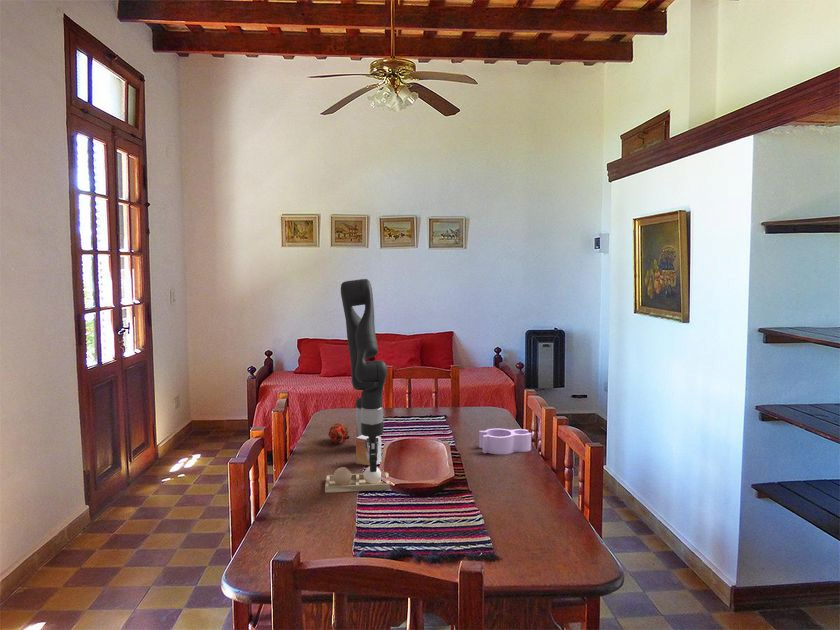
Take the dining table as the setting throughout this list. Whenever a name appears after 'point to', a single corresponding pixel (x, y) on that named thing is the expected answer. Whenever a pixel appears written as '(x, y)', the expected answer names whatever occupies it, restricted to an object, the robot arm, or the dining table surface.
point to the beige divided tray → (355, 484)
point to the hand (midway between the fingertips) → (373, 466)
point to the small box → (365, 450)
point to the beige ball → (342, 476)
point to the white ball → (372, 476)
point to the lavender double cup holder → (504, 441)
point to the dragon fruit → (338, 433)
